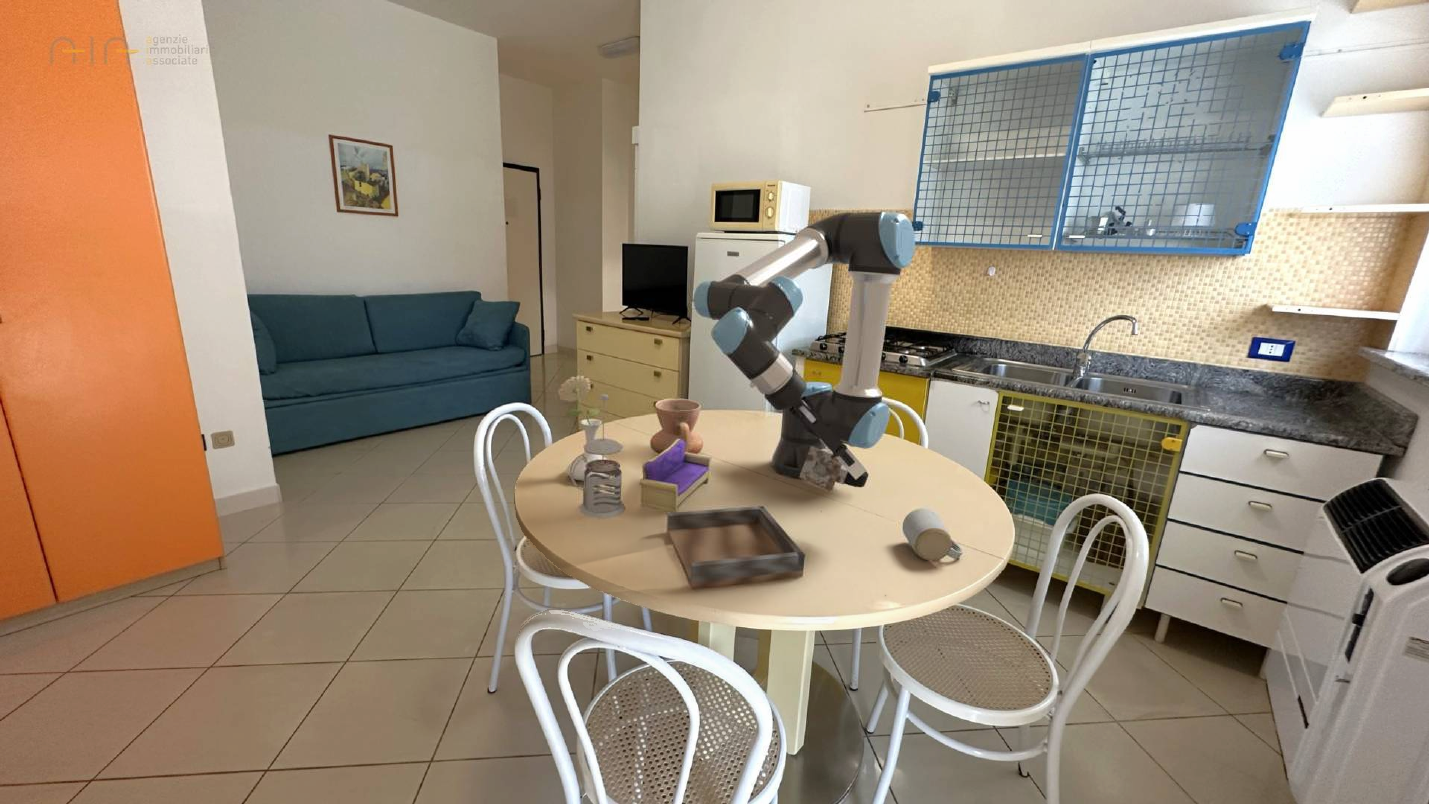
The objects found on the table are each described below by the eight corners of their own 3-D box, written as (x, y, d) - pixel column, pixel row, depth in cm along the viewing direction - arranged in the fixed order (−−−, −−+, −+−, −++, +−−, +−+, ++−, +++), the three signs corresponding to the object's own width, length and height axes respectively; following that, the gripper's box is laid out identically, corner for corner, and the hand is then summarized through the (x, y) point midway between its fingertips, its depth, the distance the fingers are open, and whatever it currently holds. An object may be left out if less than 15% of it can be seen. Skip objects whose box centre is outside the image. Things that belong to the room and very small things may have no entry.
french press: (632, 513, 120) (635, 398, 114) (578, 523, 114) (578, 402, 108) (616, 495, 128) (618, 387, 122) (564, 504, 122) (564, 390, 116)
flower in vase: (610, 466, 145) (612, 370, 139) (618, 484, 134) (620, 380, 128) (557, 470, 141) (556, 370, 134) (560, 488, 130) (559, 381, 124)
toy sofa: (674, 516, 120) (676, 471, 118) (637, 508, 123) (639, 463, 121) (710, 482, 139) (713, 442, 137) (678, 475, 142) (680, 436, 140)
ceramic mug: (912, 562, 107) (919, 524, 105) (899, 541, 115) (905, 505, 113) (968, 566, 107) (976, 529, 105) (951, 545, 115) (958, 510, 113)
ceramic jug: (646, 443, 164) (647, 395, 160) (696, 442, 167) (698, 395, 163) (654, 467, 147) (656, 415, 143) (709, 465, 150) (712, 414, 146)
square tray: (761, 524, 118) (763, 506, 117) (802, 576, 100) (804, 555, 99) (666, 532, 113) (667, 513, 112) (691, 589, 94) (692, 566, 93)
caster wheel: (863, 492, 114) (854, 503, 105) (811, 469, 118) (798, 477, 109) (875, 461, 113) (867, 470, 104) (822, 439, 117) (810, 445, 108)
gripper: (752, 382, 115) (821, 459, 121) (775, 411, 95) (856, 501, 101) (780, 357, 114) (848, 435, 120) (809, 381, 94) (889, 473, 100)
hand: (852, 465), depth 111 cm, fingers closed on caster wheel, 8 cm apart
